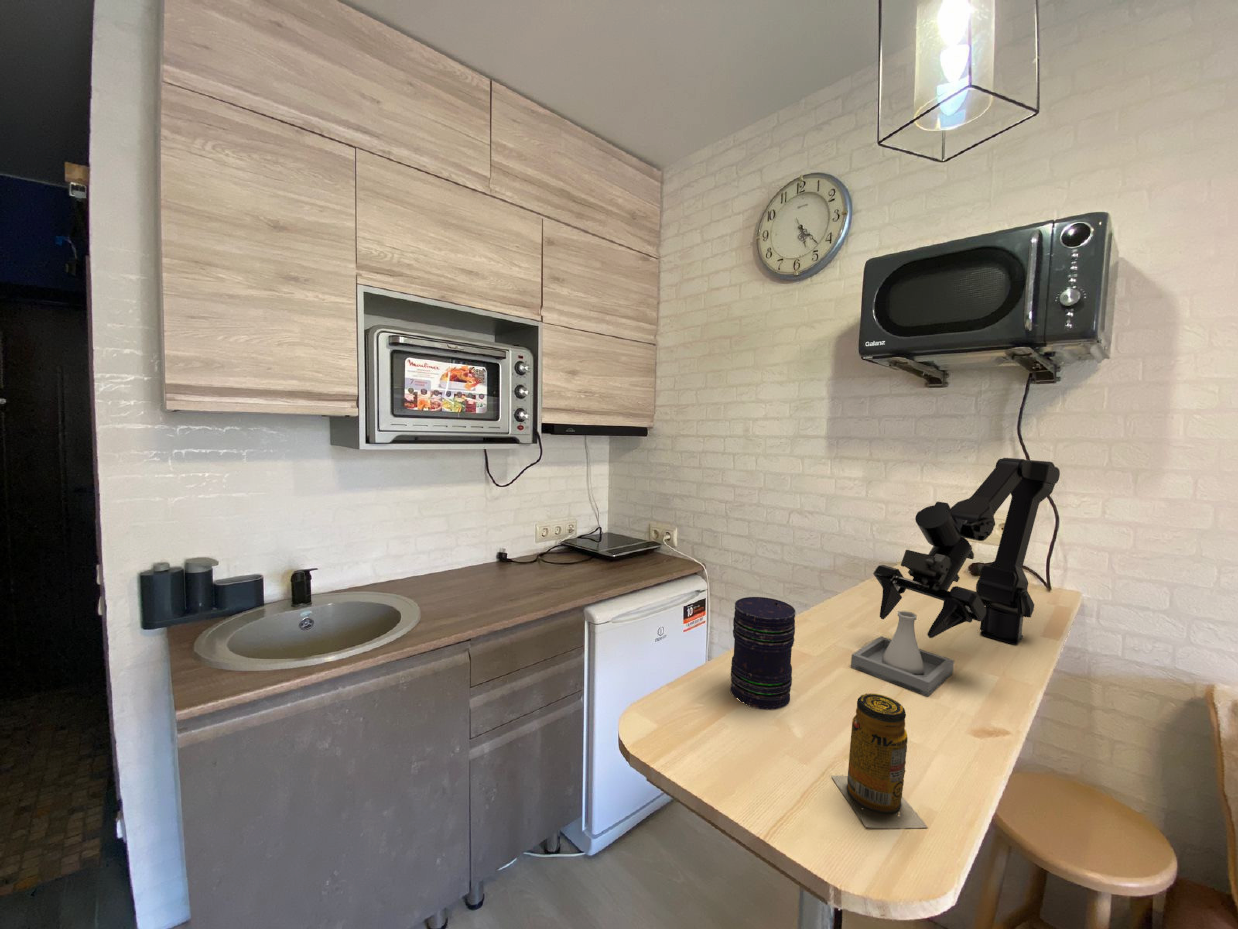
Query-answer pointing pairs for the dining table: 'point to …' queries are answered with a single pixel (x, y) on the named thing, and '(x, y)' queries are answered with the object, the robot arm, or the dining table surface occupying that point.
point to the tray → (923, 683)
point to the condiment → (878, 765)
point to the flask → (904, 646)
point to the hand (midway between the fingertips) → (904, 627)
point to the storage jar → (762, 652)
